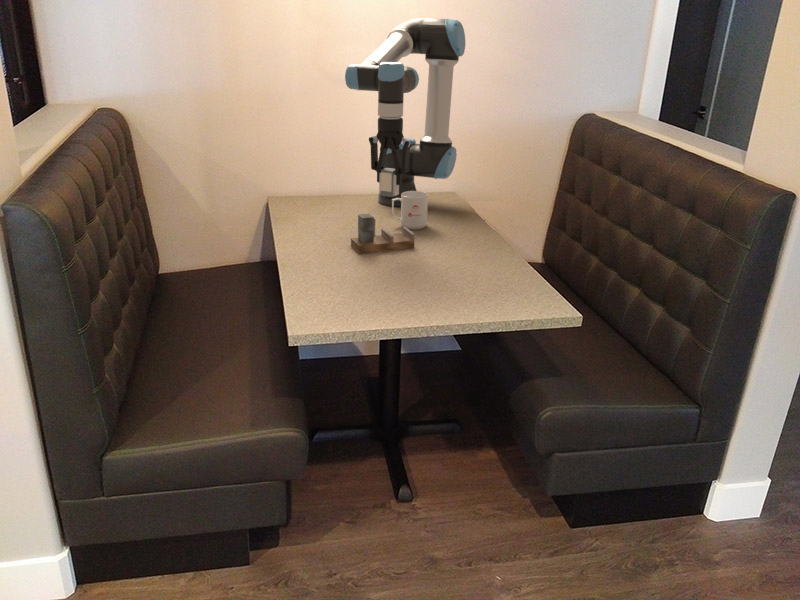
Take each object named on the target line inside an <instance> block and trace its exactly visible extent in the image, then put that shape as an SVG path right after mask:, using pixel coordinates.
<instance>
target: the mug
mask: <svg viewBox="0 0 800 600" xmlns="http://www.w3.org/2000/svg"><path fill="white" fill-rule="evenodd" d="M395 200H400V201H401V206H400V217H399V216H398V215H397V214H395V206H394V201H395ZM428 202H429V194H428V193H427V192H424V191H421V190H420V191H419V190H417V191H406V192H403V193H402V194H401V198H395V199H392V206H391V208H392V209H391V210H392V211H391V212H392V215H393V217H394V218H395V219H397V220H398V221H399V222H400V225H401V226H402V227H406V228H407V229H409V230H421V229H424V228H425V227H426V226H427V224H428V206H429V203H428Z"/></svg>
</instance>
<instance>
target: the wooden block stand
mask: <svg viewBox="0 0 800 600" xmlns="http://www.w3.org/2000/svg"><path fill="white" fill-rule="evenodd" d="M357 224H358V225H357V228H358V229H357V233H358V234H357V237H351V238H350V247H352V249H354V250H355V252H357V253H358V255H363V253H365V254H372V252H374V253H380V251H381V252H382V251H383V252H388V251H389V252H391V251H398V250H399V251H400V250H406V249H407V250H408V249H415V244H416V243H415V239H416V237H415V235H416V234H415V233H414V232H413V231H412V230H411V229H407V228H406V227H403V226H402V227H401V232H397V233H390V232H389V231H388V230H387V229H385V228H381V231H380V233H381V234H380V235H379V234H377V235H376V218H375V216H373V215H372V214H370V213H361V214H359V213H358V215H357Z"/></svg>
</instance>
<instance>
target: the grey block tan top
mask: <svg viewBox="0 0 800 600" xmlns="http://www.w3.org/2000/svg"><path fill="white" fill-rule="evenodd" d="M395 173H396V171H395V169H393V168H384V169H382V170H381V196H388V197H393V175H394V174H395Z"/></svg>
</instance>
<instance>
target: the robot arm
mask: <svg viewBox="0 0 800 600" xmlns="http://www.w3.org/2000/svg"><path fill="white" fill-rule="evenodd" d="M465 50H466V34H465V28H464V27H463V24H462V23H461V21H459V20H458V19H449V18H421V17H420V18H414V19H413V18H412V19H410V20H408V21H406V22H403V23H401V24H399V25H398V26H396V27H395V28H393V29H392V30H391V31H390V32H389V33H388V35H387V38H386V40H385V41H384V42H383V43H382V44H381V45H379V47H378V48H376V49H375V50H374V51H373V52H372V53H371V54H370V55H369V56H368V57H367V58H366V59H365V60H364V61H363V62H362V63H361V64H358V63H355V64H349V65H348V66H347V67H346V70H345V75H344V80H345V85H346V86H347V88H348V89H349V90H355V91H368V92H377V93H378V95H377V96H378V97H377V98H378V99H377V101H378V102H377V116H378V118H377V134H376V135H374V136H373V135H372V136H370V137H368V142H369V144H370V169H371V170H373V171H375V172H376V181H377V183H378V184H379V189H378V192H379V193H378V196H377V197H378V203H379V204H381V205H384V206H389V207H392V199H395V198H401V194H402V193H403V192H406V191H418V190H417V187H416V184H415V177H419V178H420V177H421V178H431V179H434V180H439V179H441V180H444V179H445V180H446V179H448V178H449V177H450V176H451V175H452V173H453V171H454V168H455V165H456V161H457V148H456V147H454V146H453V141H452V139H451V138H450V137H449V132H450V119H451V117H450V116H451V115H450V114H451V106H452V94H453V92H452V91H453V81H454V70H455V69H454V68H455V66H456V65H457V64H458V63H459V59H460V57H462V56H464V54H465ZM413 54H417V55H418V54H420V55H425V59H424V60H425V61H426V63H427V64H428V75H427V76H428V77H427V79H428V80H427V92H426V93H427V94H426V106H425V107H426V109H425V120H424V121H425V123H424V135H423V136H422V137H421V138H420V139H419V143H417V141H416V139H415V138H412V137H411V138H409V137H408V138H405V136H404V134H403V129H404V118H402V117H403V116H404V96H405V95H404V94H409V93H411V92H412V91H414V90H415V89H416V88H417V87H418V85H419V82H420V78H419V76H420V75H419V74H418V72H417V70H416V68H414V67H411V66H407V65H406V66H405V65H404V63H403V62H399V61H400V60H401V59H402V58H406V57H408V56H409V55H413ZM378 143H379V144H380V147H379V146H378ZM378 147H379V149H378ZM378 152H379V153H378ZM384 168H393V169H395V171H396V173H395V174H394V175H393V197H388V196H381V170H382V169H384ZM394 207H401V201H400V200H395V201H394Z"/></svg>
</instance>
